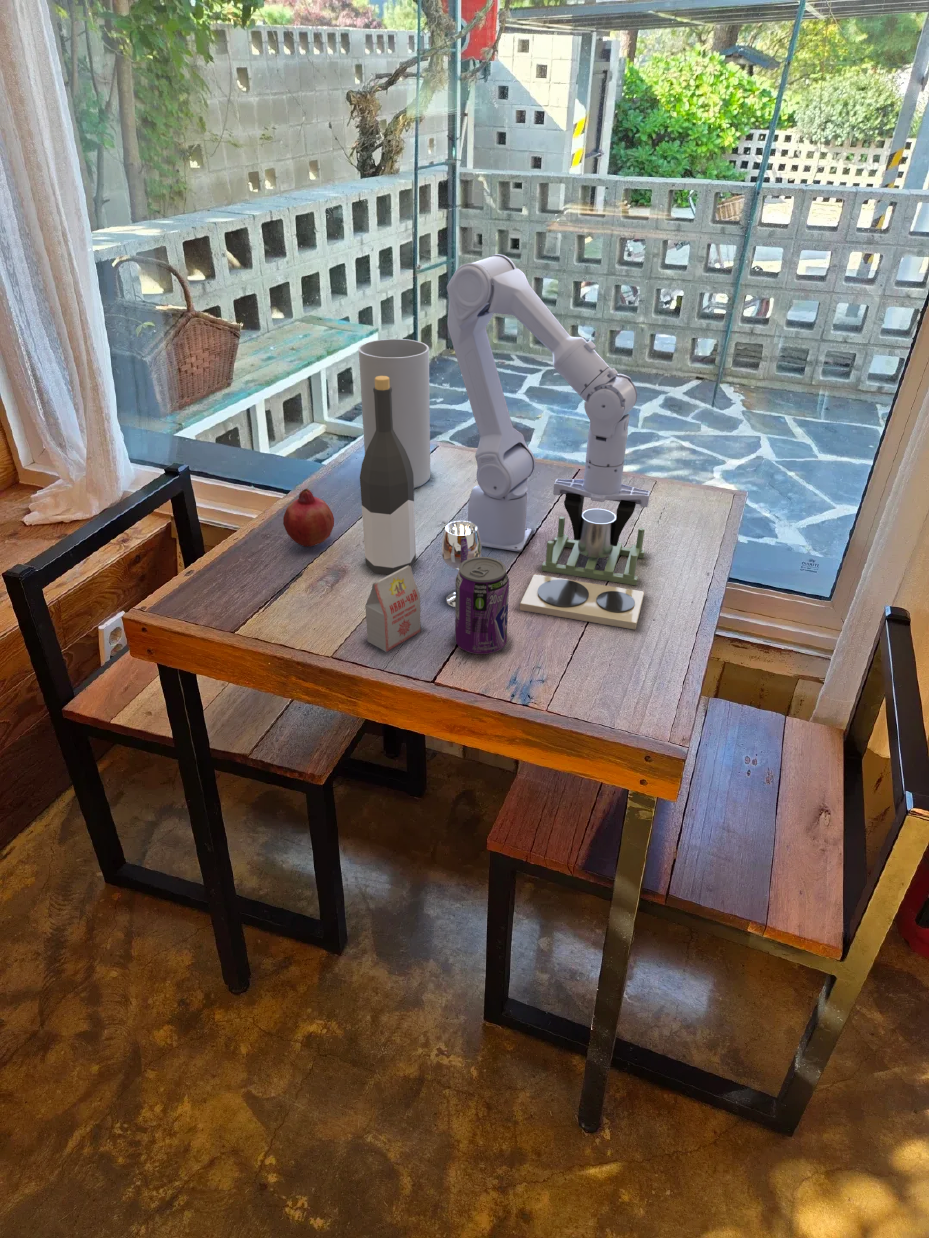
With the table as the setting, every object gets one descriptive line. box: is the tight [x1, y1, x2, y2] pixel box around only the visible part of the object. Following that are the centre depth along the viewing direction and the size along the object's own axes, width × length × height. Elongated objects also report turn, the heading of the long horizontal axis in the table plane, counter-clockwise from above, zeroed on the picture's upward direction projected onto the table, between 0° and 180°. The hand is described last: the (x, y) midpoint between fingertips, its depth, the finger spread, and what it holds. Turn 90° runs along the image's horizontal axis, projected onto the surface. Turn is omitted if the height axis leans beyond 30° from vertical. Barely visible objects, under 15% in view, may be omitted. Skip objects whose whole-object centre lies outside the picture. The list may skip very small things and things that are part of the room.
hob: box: [519, 573, 645, 631], centre depth 122 cm, size 17×9×2 cm, turn 73°
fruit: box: [282, 488, 335, 548], centre depth 135 cm, size 8×8×10 cm
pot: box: [578, 508, 617, 559], centre depth 130 cm, size 6×6×6 cm
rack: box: [541, 516, 646, 586], centre depth 132 cm, size 15×10×5 cm
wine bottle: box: [359, 376, 417, 576], centre depth 124 cm, size 8×8×30 cm
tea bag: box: [364, 565, 422, 652], centre depth 112 cm, size 4×7×10 cm, turn 139°
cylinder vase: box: [358, 338, 432, 489], centre depth 153 cm, size 12×12×25 cm
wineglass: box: [441, 520, 483, 608], centre depth 120 cm, size 6×6×12 cm
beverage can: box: [454, 556, 510, 655], centre depth 110 cm, size 7×7×12 cm
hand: (595, 540), depth 131 cm, fingers closed on pot, 5 cm apart
